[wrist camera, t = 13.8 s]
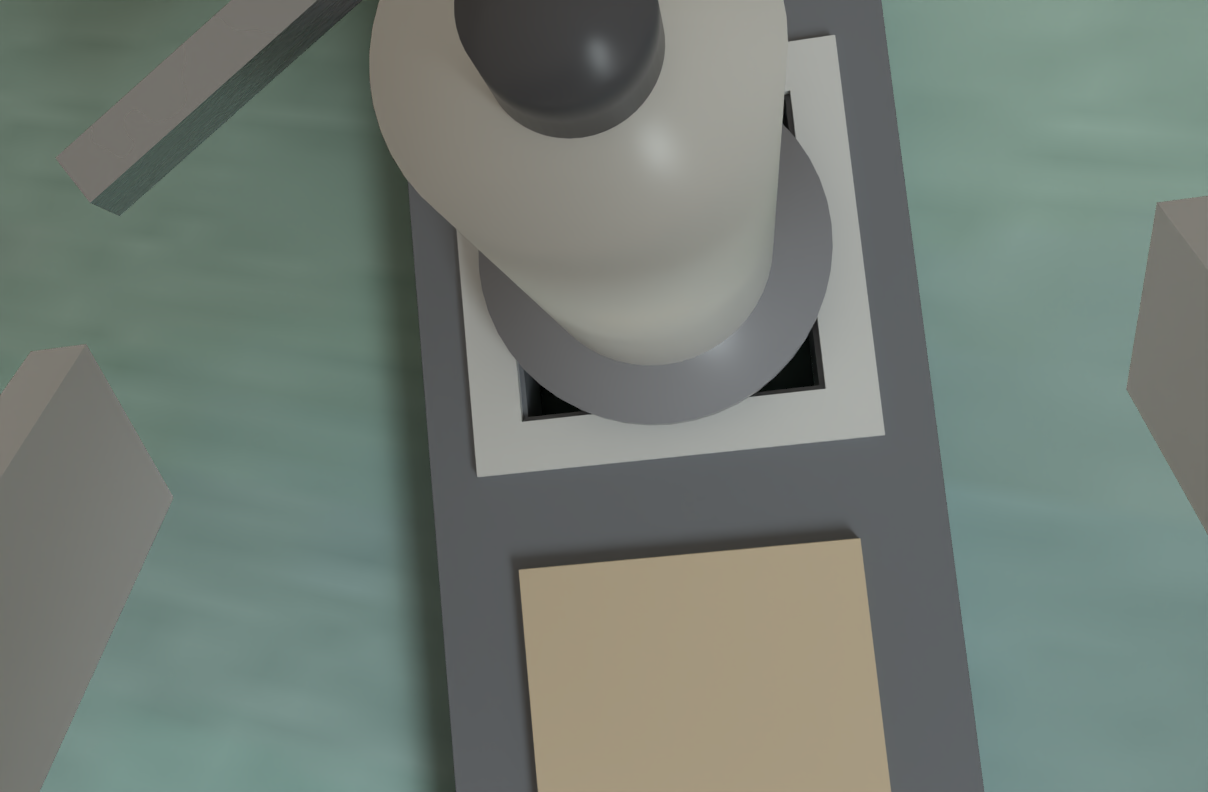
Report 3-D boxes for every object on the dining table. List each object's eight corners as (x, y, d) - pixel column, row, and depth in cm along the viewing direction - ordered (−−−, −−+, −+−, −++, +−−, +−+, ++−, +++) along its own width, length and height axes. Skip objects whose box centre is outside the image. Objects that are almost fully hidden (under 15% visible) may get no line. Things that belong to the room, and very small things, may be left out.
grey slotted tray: (826, -324, 25) (836, -432, 22) (983, 890, 22) (1017, 948, 19) (393, -243, 26) (348, -336, 23) (487, 916, 23) (450, 974, 20)
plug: (804, 100, 24) (863, -386, 11) (842, 414, 23) (956, 297, 10) (495, 144, 25) (205, -259, 12) (522, 448, 24) (245, 381, 11)
